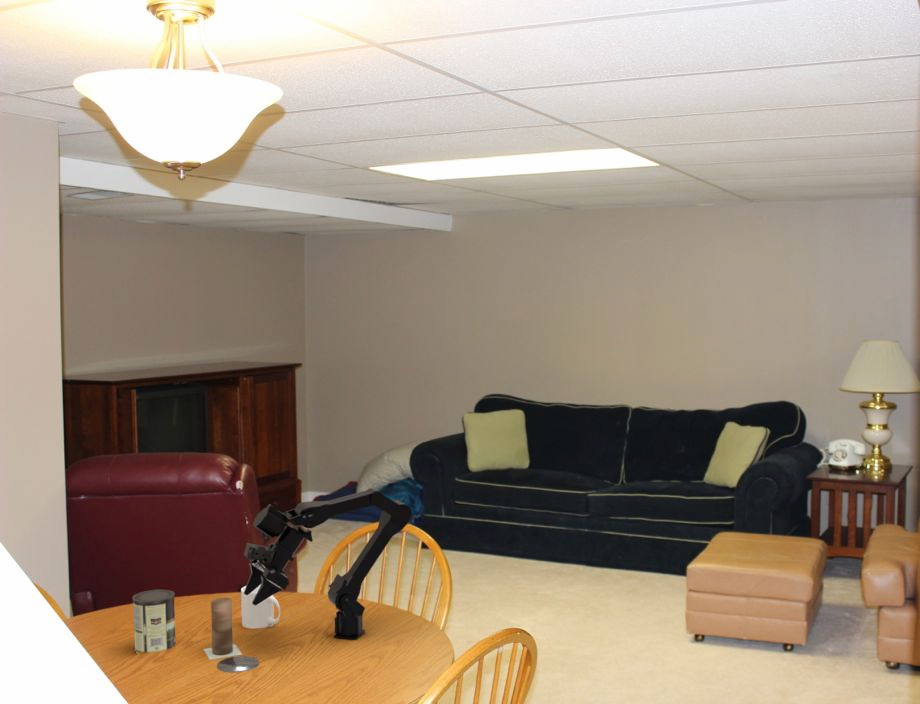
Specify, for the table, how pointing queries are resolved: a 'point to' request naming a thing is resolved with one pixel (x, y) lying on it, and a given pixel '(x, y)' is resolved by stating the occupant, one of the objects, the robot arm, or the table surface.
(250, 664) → the grey saucer
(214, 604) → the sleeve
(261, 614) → the mug
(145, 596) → the coffee can
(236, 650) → the stand
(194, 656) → the table surface
